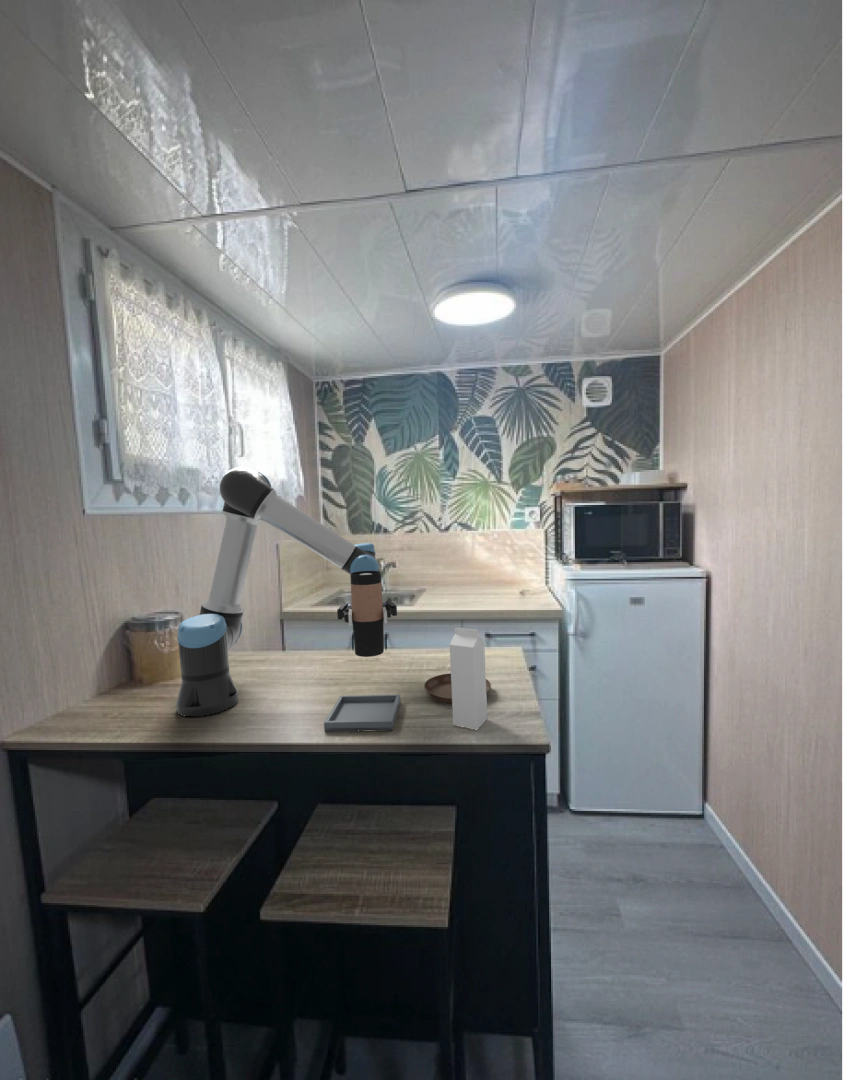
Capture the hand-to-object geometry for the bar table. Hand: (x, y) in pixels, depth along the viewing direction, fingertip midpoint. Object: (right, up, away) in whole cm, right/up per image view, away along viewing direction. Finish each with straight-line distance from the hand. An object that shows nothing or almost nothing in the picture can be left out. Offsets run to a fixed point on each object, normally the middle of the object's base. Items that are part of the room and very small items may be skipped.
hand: (368, 619), depth 115 cm
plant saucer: (+22, -23, +14) cm, 35 cm away
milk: (+24, -23, -3) cm, 34 cm away
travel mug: (0, -9, +5) cm, 11 cm away
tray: (-1, -24, +3) cm, 24 cm away
